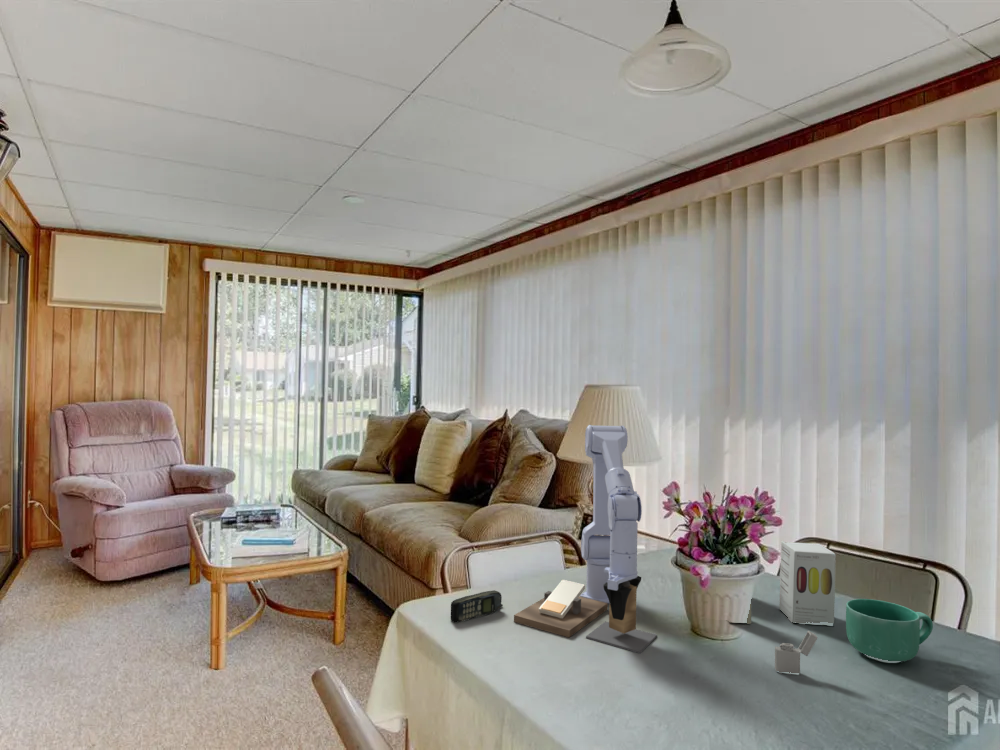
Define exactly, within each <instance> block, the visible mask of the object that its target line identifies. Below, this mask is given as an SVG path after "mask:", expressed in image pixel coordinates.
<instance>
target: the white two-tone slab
mask: <svg viewBox="0 0 1000 750" xmlns="http://www.w3.org/2000/svg"><path fill="white" fill-rule="evenodd" d="M585 589H586V584H583V583H579V582H576V581H572V580H571V581H570V580H566V579H561V581H560V582H559V583H558V584H557V585H556V587H555V588H554V589H553V590H552V591H551V592H552V593H551V594H550V595H549V597H548V598H547V599H546V600H545V601H544V603H543V604H542V605H541V606H540V608H539V612H540V613H543V614H547V615H551V616H555V617H558V618H562V619H563V617H564V616H565V615H566V613H567V612H568V611H569V609H570V608H571V607H572V605H573V600H575V599H576V598H578V597H579V596H580V595H581V594H583V593H584V592H585Z"/></svg>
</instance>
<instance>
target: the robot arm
mask: <svg viewBox="0 0 1000 750" xmlns="http://www.w3.org/2000/svg"><path fill="white" fill-rule="evenodd" d="M584 437H585V438H584V451H585V456H586V457H588V458H591V461H592V467H593V468H592V469H593V471H592V473H593V481H592V483H593V486H592V488H593V491H592V492H593V497H592V499H593V500H592V502H593V504H592V506H593V507H592V509H593V510H592V512H593V513H592V522H591V523H589V524H588V525H586V526H585V527H583V529H582V533H581V540H580V544H581V545H580V553H581V558H582V559H583V560H584V561H586V584H585V589H586V590H585V591H583V592H582V593H581V595H580V597H584V598H588V599H592V600H596V601H601V602H605V603H608V605H609V604H610V607H611V612H612V616H613V618H614V619H618V620H623V618H624V615H625V608H626V603H627V599H628V596H629V593H630V591H631V590H632V589H631V588H626V587H624V585H623V583H622V582H625V581H629V582H630V585H633V586H636V587H637V588H638V587H639V586H640V583H641V582H642V576H639V574H638V573H639V572H638V532H639V531H638V528H639V527H638V524H639V522H640V521H641V520H642V510H643V509H642V501H641V497H640V494H638V492H637V491H635V490H634V485H633V482H632V476H631V475H630V472H629V471H628V470H627V469H626V468H624V461H623V460H624V459H623V453H624V452H625V450H626V449H627V447H628V442H629V441H628V430H627V428H626V427H625V425H592V424H588V425H587V426H586V428H585V433H584Z"/></svg>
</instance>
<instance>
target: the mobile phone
mask: <svg viewBox="0 0 1000 750" xmlns="http://www.w3.org/2000/svg"><path fill="white" fill-rule="evenodd" d="M502 597H503V596H502V594H501V592H500V591H497V590H496V589H495V590H488V591H487V590H486V591H481V592H478V593H474V594H472V595H466V596H463V597H459V598H455V599H454V600H452V602H451V603H450V621H451V622H452V623H454V624H455V623H456V624H457V623H461V622H465V621H468V619H469V620H472V619H476V618H480V617H484V616H489V615H492V614H493V613H496V612H497V611H499V610H500V608H503V604H502V601H503V600H502ZM464 620H465V621H464Z"/></svg>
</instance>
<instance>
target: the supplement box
mask: <svg viewBox="0 0 1000 750" xmlns="http://www.w3.org/2000/svg"><path fill="white" fill-rule="evenodd" d="M836 556H837V555H836V553H834V551H832V550H830V549H829V548H827V547H825V546H824V545H822V544H821V543H808V542H791V541H781V542H780V569H779V570H780V574H779V601H778V602H779V605H778V607H779V608H778V609H779V611H780V610H781V611H782V612H783V613H784V614H785V615H786V616H787V617H788V618H787V617H786V616H785V615H784V614H783V613H782V612H781V611H780V612H781V613H782V614H783V615H784V616H785V617H786V618H787V619H788V620H789V622H790V623H792V622H794V623H795V622H796V623H806V622H807V623H808V622H810V623H812V622H813V623H820V622H828V623H834V624H835V603H836V602H835V600H836V599H835V598H836V597H835V595H836V563H837V561H836V560H837V559H836V558H837V557H836Z"/></svg>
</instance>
